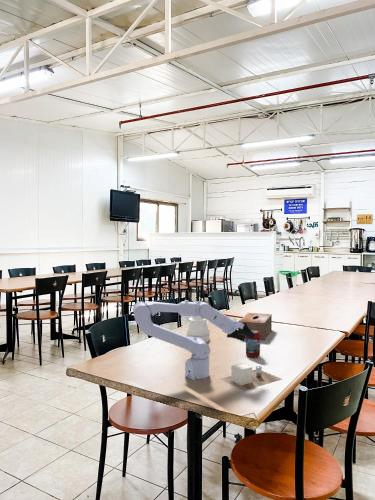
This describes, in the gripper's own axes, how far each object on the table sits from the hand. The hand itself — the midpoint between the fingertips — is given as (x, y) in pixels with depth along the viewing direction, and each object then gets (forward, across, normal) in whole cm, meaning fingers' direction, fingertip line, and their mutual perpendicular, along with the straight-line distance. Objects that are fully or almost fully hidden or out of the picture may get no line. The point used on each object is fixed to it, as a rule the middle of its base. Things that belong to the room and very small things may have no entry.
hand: (248, 337), depth 161 cm
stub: (+9, -2, +13) cm, 16 cm away
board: (+7, -2, +16) cm, 18 cm away
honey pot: (0, +61, -7) cm, 61 cm away
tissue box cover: (+31, +58, -26) cm, 71 cm away
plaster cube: (+2, -3, +18) cm, 19 cm away
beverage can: (+17, +25, -3) cm, 31 cm away
